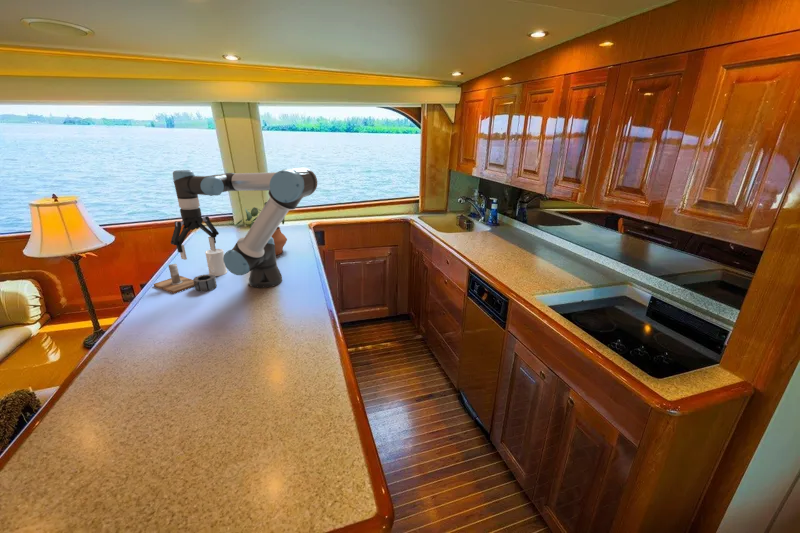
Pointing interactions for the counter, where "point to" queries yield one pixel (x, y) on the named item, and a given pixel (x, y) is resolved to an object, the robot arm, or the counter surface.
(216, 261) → the mug
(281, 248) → the potted plant
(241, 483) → the counter surface
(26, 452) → the counter surface
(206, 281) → the ring
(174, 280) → the post block
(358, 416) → the counter surface
